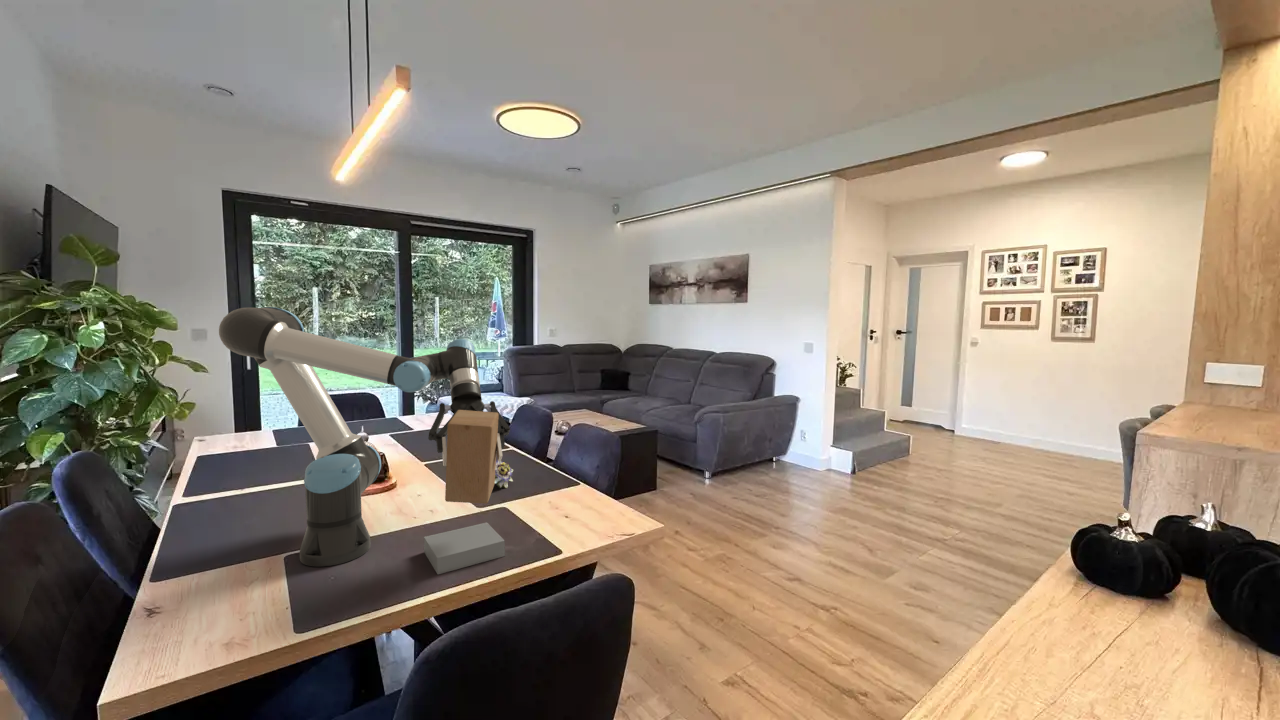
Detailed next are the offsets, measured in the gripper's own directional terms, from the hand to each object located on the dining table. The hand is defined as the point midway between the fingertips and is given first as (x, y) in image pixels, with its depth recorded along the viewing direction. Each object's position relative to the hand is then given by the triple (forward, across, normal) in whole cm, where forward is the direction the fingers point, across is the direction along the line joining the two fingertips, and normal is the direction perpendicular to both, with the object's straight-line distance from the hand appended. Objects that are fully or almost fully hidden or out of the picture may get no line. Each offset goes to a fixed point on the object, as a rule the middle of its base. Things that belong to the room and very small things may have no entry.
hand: (473, 461), depth 123 cm
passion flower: (-17, -15, -52) cm, 57 cm away
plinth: (+16, +2, -19) cm, 24 cm away
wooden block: (+5, 0, -8) cm, 9 cm away
